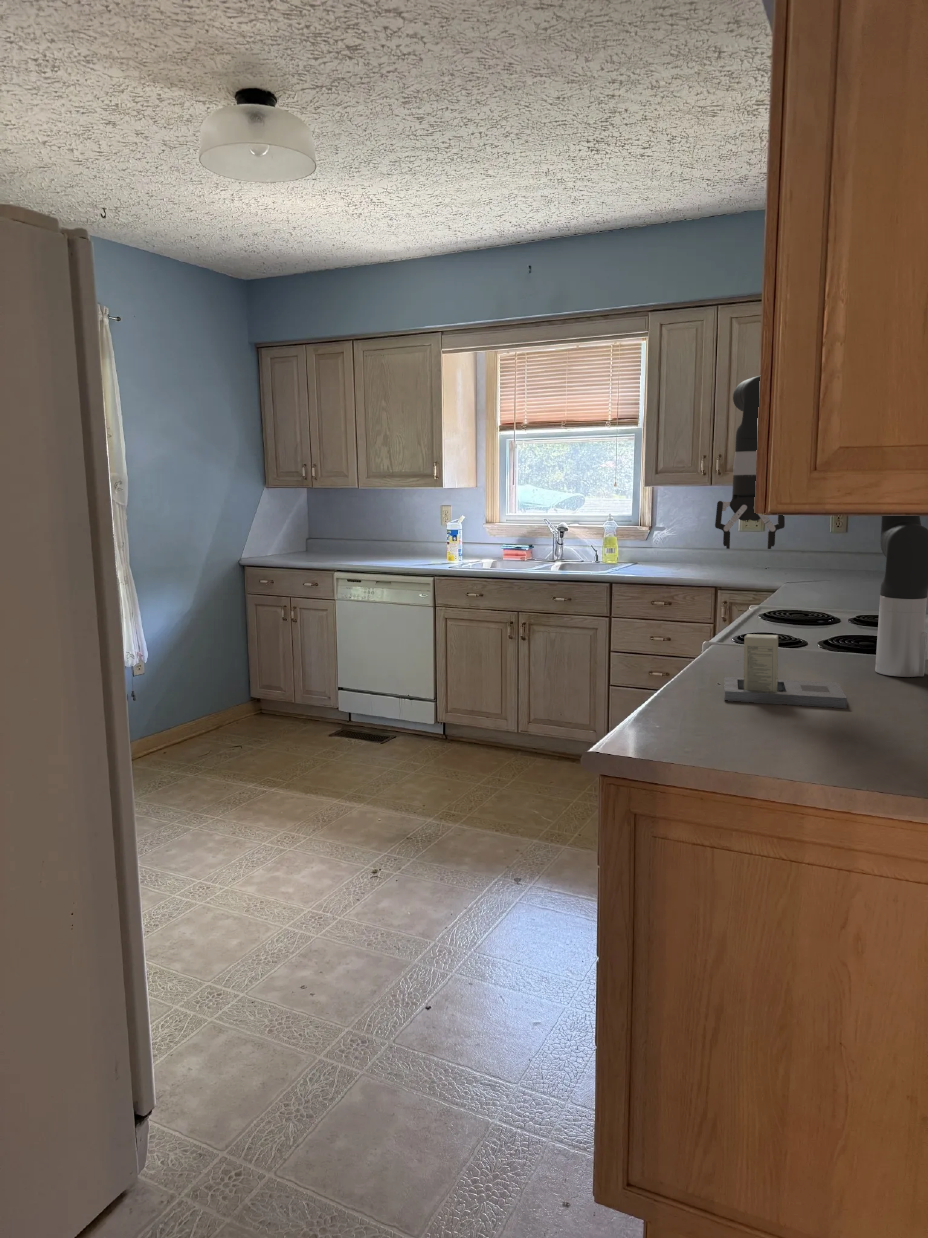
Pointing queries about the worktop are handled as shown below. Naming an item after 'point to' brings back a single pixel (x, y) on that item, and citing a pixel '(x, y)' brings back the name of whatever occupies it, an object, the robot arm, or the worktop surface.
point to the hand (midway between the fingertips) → (748, 548)
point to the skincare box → (760, 662)
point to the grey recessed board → (788, 693)
